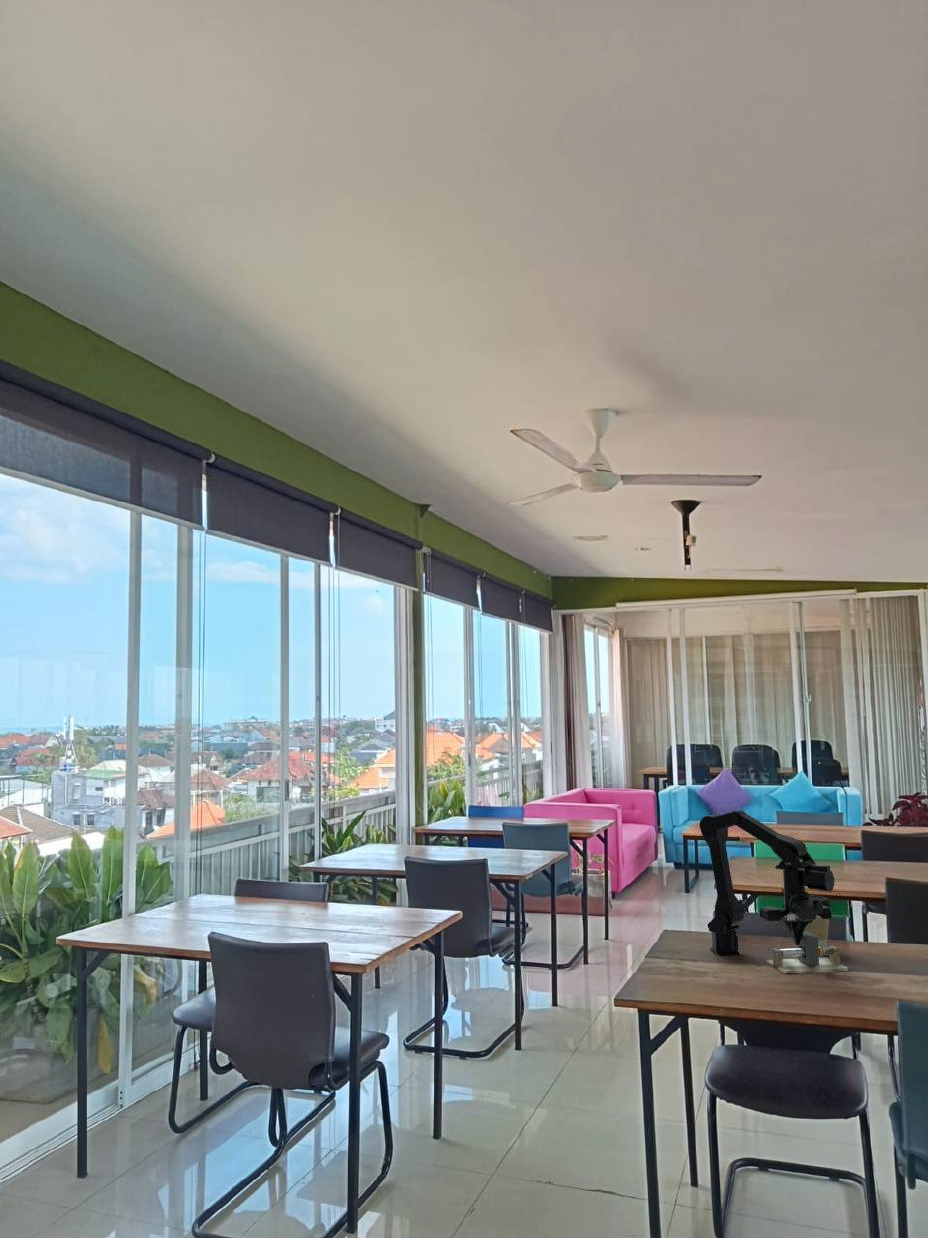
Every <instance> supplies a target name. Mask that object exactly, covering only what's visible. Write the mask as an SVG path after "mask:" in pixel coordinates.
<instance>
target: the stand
mask: <svg viewBox="0 0 928 1238" xmlns="http://www.w3.org/2000/svg"><path fill="white" fill-rule="evenodd" d="M828 947H832V948H833V951H834V954H833V955H828V956H829V957H827V956H823V957H822V956H819V965H811V966H809V965H807V964H805V963H803V962H801V961H800V960H798V958H784V959H783V957H782V951H781V950H780V949H779V948H777V947H773V948H771V949H772V950H771V951H772V952H771V953H772V959H766V964H767V965H770V966H771V967H773V968H774V969H776V970H778V971H779V972H780V973H783V974H784V973H799V974H816V973H836V972H837V973H839V972H848V971H849V968H848V967H847V966H845V965H843V964H841V956H840V948H839V947H837V946H836V945H828ZM773 950H775V951H776V954H777V955H776V957H774V955H775V952H774V951H773ZM773 954H774V955H773Z"/></svg>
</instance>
